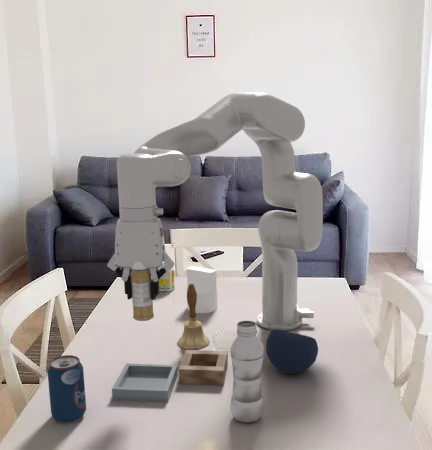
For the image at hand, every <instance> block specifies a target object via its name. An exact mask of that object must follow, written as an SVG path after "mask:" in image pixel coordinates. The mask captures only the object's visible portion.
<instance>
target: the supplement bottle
mask: <svg viewBox="0 0 432 450" xmlns="http://www.w3.org/2000/svg"><path fill="white" fill-rule="evenodd" d="M165 265H166V264H165V263H164V262H162V265H161V266H160V267H158V268H159V270H160V269H161V268H162V267H164V266H165ZM173 290H175V268H174V267H173V268H172V269H170V270H169V271H167V272H166V273H165V274H164V275H163V276H162V277H161V278H160V279H159V292H163V291H167V292H171V291H173Z"/></svg>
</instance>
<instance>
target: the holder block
mask: <svg viewBox="0 0 432 450" xmlns="http://www.w3.org/2000/svg"><path fill="white" fill-rule="evenodd" d="M228 353H229V352H228V351H227V350H204V349H203V350H201V349H185V351H184V353H183V357H182V359H181V361H180V365H179V368H178V384H181V385H204V386H205V385H207V386H224V385H225V381H226V377H227V373H228V372H227V370H228V366H229V365H228V364H229V356H228V355H229V354H228Z"/></svg>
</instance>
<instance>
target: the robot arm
mask: <svg viewBox="0 0 432 450" xmlns="http://www.w3.org/2000/svg"><path fill="white" fill-rule="evenodd" d="M305 128H306V120H305V117H304V114H303V113H302V111H301V110H300V109H299V108H298V107H296V106H295V105H293V104H291V103H289V102H286V101H284V100H282V99H280V98H278V97H276V96H275V95H271V94H269V93H265V92H259V91H257V92H256V91H253V92H250V91H249V92H244V91H243V92H242V91H240V92H232V93H229V94H227V95H225V96H223V97H222V98H221V99H220V100H218V101H216V103H214V104H213V105H212V106H211V107H209V108H207V109H206V110H205V111H204V112H202V113H200V114H199V115H198V116H197V117H196V118H193V119H191V120H188V121H186V122H183V123H181V124H179V125H177V126H174V127H172V128H169V129H167V130H165V131H162V132H160V133H158V134H156V135H154V136H153V137H152V138H149V140H147V141H146V142H144V143H143V144H141V145H140V146H139V147H138V148H137V149H136V150H135V151H134V152H132V153H125V154H122V155H119V157H118V158H117V160H116V174H117V176H116V177H117V192H118V205H119V206H118V208H119V209H118V212H119V219H117V222H116V228H115V237H114V238H115V239H114V254H112V256H111V258H110V259H109V261H108V263H107V267H108V268H109V269H110V270H111V271H114V272H115V274H117V275H118V276H119V277H120V278H121V279H122V281H123V282H124V294H125V295H126V297H127V300H132V286H131V269H130V268H132V267H133V265H134V263H135V262H141V263H142V265H143V267H145V268H149V269H150V273H151V279H152V281H151V282H150V290H151V299H152V300H153V301H155V300H156V299H157V296H158V295H160V290H159V279H160V278H161V277H162V276H163V275H164V274H165V273H166V272H167V271H169V270H170V269H172V268H174V267H175V262H174V261H173V260H172V258H171V257H170V256H169V254H168V253H167V251H166V243H165V242H166V241H165V235H164V228H163V223H162V220H161V218H159V217H158V216H163V214H164V208H163V207H161V208H160V207H158V206H157V205H158V204H157V202H156V201H157V200H156V197H157V196H156V188H157V187H176V186H179V185H181V184H184V183H185V182H186V181H187V180H188V178H189V177H190V176H191V173H192V172H191V171H192V164H191V161H190V159H189V157H194V156H200V155H205V154H208V153H213V152H215V151H217V150H219V149H220V148H221V147H222V146H223V145H225V144H226V143H227V142H229V140H231V139H232V138H233V137H234V136H235V135H237V134H238V133H240V132H241V131H243V132H244V134H246V135H247V137H248V138H250V139H251V140H252V141H253V142H254V143H255V144H256V146H257V147H258V149H259V151H260V155H261V165H262V166H261V167H262V169H261V170H262V193H263V199H264V201H265V202H266V203H267V204H268V205H271V206H272V207H273V206H274V207H278V208H285V209H291V210H295V212H293V211H287V210H279V209H276V210H269V211H267V212H265V213H264V214H263V215H261V217H260V218H259V221H258V228H257V229H258V238H259V242H260V246H261V258H262V259H261V260H262V262H261V263H262V265H261V267H262V270H261V273H262V276H261V277H262V279H261V280H262V281H261V282H262V283H261V285H262V287H261V289H262V291H261V293H262V298H261V299H262V303H261V304H262V307H261V309H262V311H261V313H260V314H258V315H257V316H256V324H258V326H259V327H262V328H264V329H267V330H270V331H272V330H274V329H278V330H284V331H290V330H294V329H297V328H299V327H301V325H303V319H314V316H315V315H314V311H311V310H309V308H300V307H299V304H298V260H297V255H296V251H300V252H312V251H315V250H316V249H318V247H319V245H320V243H321V241H322V237H323V229H324V228H323V223H324V221H323V217H324V214H323V213H324V212H323V208H324V207H323V204H324V203H323V202H324V201H323V197H324V196H323V188H322V185H321V181H320V180H319V178H317V177H316V176H315V175H314V174H311V173H306V172H297V170H296V161H295V150H294V147H293V144H292V143H293V142H296V141H297V140H299V139H300V138H301V137H302V136H303V133H304V132H305ZM294 250H296V251H294ZM162 262H164V263H165V264H166V265H165V266H164V267H162V268H161V269H160V270H159V267H160V266H161V265H162Z"/></svg>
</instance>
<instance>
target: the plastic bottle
mask: <svg viewBox="0 0 432 450" xmlns="http://www.w3.org/2000/svg"><path fill="white" fill-rule="evenodd" d="M257 328H258V327H257V322H255V321H253V320H241V321H239V322H237V323H236V334H237V336H236V337H235V339H234V340H233V342H232V344H231V346H230V348H229V349H230V351H229V352H230V359H231V366H232V375H233V377H232V378H233V379H232V380H233V381H232V382H233V384H232V385H233V386H232V393H231V397H230V403H229V404H230V405H229V407H230V412H231V413H230V414H231V415H232V417H233V418H234V419H235V420H236V421H237V422H241V423H249V424H250V423H253V422H256V421H258V420H259V419H261V417H262V416H263V414H264V409H265V403H264V397H263V392H262V390H263V389H262V369H263V368H262V367H263V362H264V355H265V348H264V344H263V343H262V341H261V340H260V338H259V337H258V336H257V334H258V330H257Z"/></svg>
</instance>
